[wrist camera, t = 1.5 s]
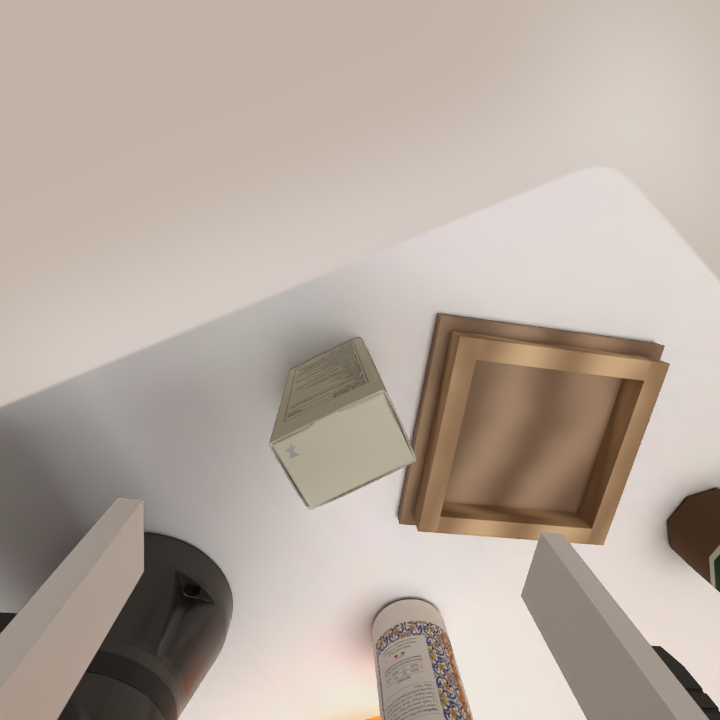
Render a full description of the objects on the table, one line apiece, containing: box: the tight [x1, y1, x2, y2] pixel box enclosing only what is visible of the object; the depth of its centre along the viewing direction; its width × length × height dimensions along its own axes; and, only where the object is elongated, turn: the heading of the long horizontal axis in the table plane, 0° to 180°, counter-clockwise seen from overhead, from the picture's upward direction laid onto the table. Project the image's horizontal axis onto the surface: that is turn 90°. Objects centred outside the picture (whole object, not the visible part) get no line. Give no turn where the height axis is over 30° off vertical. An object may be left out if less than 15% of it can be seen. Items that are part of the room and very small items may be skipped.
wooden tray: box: [398, 313, 670, 545], centre depth 32 cm, size 18×18×3 cm
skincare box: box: [269, 337, 416, 510], centre depth 25 cm, size 6×4×12 cm
